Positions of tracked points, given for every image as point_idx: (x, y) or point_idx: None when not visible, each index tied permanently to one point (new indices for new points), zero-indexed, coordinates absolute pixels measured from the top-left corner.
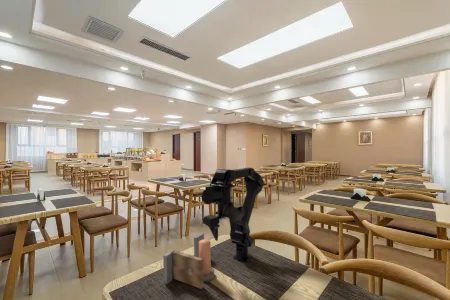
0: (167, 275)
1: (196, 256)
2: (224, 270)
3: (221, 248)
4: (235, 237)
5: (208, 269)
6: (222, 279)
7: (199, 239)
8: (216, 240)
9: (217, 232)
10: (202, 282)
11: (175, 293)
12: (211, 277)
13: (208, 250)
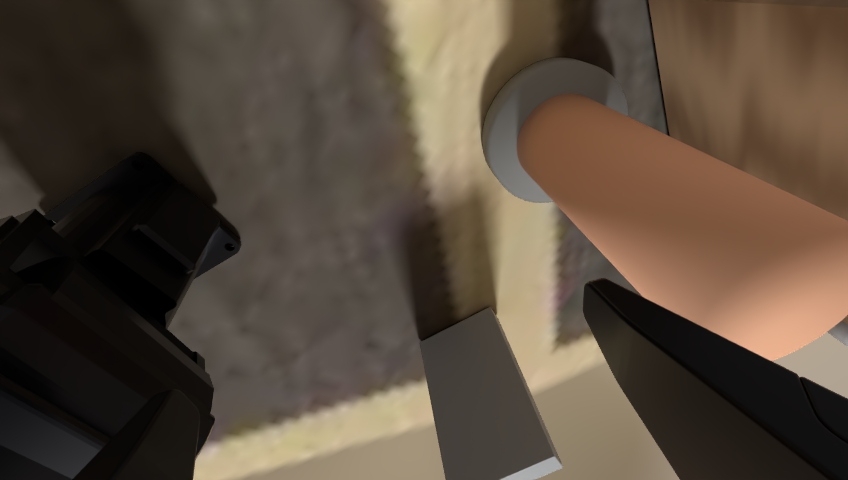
0: None
1: (501, 330)
2: (384, 130)
3: (275, 379)
4: (145, 366)
5: (583, 106)
6: (464, 17)
7: (505, 443)
8: (603, 288)
9: (780, 409)
10: None
11: None
12: (547, 64)
13: (714, 177)
